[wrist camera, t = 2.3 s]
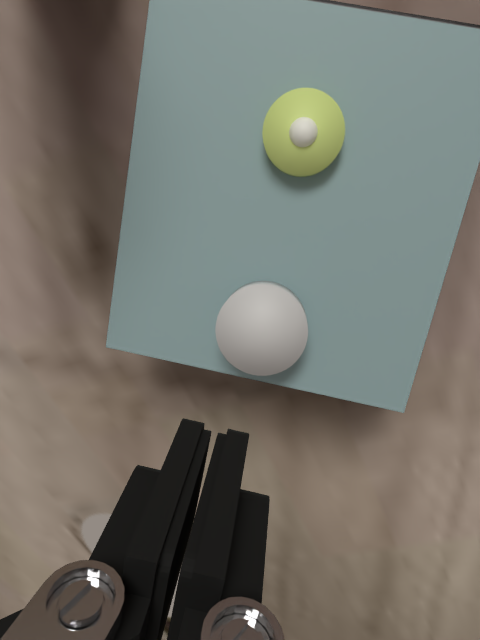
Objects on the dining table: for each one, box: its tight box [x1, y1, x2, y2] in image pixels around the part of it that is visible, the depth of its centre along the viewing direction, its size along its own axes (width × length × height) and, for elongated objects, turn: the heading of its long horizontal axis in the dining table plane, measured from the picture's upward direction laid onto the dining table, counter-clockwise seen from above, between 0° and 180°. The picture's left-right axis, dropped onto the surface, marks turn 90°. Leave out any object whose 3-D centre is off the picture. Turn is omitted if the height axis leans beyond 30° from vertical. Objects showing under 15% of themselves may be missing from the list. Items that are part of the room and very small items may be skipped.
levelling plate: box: [106, 0, 480, 413], centre depth 24 cm, size 20×18×4 cm
